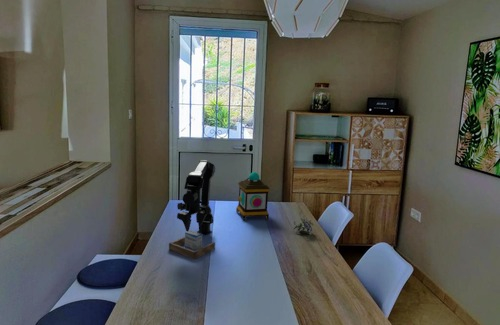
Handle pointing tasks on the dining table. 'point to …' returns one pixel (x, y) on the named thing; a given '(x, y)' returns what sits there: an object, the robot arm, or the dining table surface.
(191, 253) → the frame
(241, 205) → the decorative lantern
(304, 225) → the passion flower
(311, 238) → the dining table surface
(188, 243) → the medicine box
